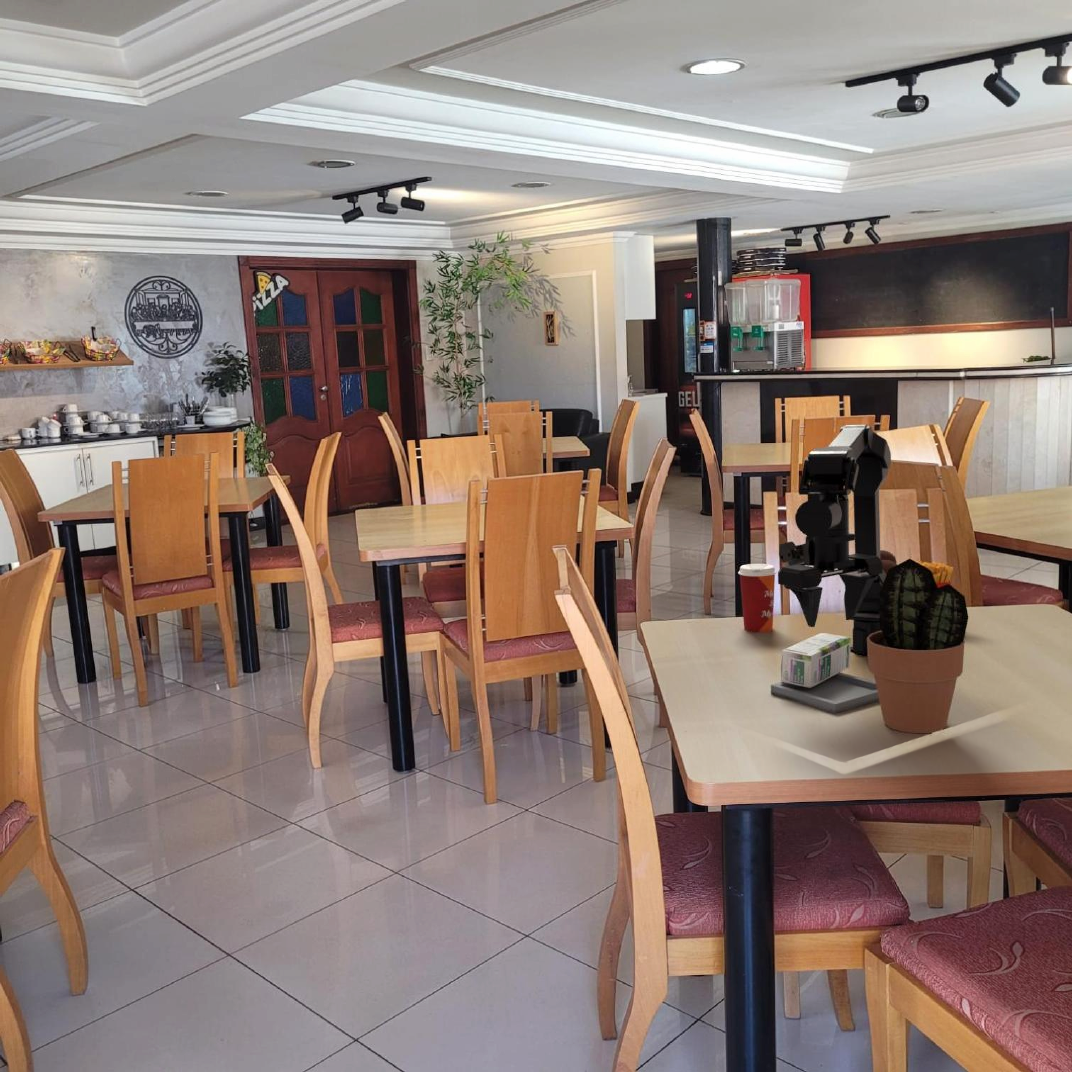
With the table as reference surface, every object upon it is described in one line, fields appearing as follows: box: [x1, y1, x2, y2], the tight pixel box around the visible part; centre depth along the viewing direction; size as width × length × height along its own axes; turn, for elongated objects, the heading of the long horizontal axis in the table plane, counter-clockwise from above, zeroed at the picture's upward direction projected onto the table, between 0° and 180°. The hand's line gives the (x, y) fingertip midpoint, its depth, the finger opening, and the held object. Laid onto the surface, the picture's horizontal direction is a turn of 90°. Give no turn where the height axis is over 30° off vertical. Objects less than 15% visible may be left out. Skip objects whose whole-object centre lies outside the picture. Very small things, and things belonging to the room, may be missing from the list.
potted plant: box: [867, 558, 969, 734], centre depth 157 cm, size 14×14×25 cm
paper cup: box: [737, 563, 777, 633], centre depth 218 cm, size 8×8×14 cm
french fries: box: [914, 560, 954, 588], centre depth 217 cm, size 9×4×13 cm, turn 55°
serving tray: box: [770, 672, 880, 714], centre depth 175 cm, size 14×14×2 cm
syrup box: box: [780, 632, 851, 688], centre depth 181 cm, size 6×6×14 cm
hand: (831, 622), depth 173 cm, fingers open, 9 cm apart
